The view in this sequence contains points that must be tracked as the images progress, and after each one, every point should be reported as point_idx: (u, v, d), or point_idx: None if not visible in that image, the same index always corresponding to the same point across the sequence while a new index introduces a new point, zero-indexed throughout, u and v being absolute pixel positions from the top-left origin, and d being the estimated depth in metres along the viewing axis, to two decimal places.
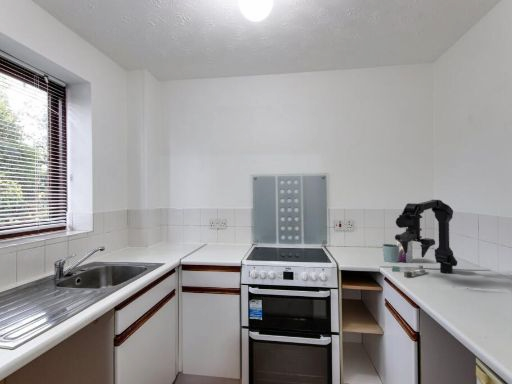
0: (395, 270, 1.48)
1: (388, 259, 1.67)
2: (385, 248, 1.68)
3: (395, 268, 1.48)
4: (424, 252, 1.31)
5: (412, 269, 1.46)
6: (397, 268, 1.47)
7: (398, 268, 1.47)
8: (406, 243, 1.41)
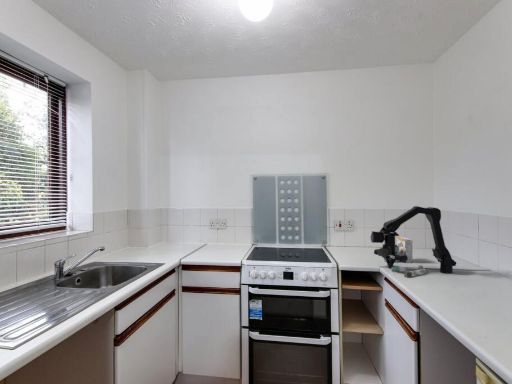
0: (395, 270, 1.48)
1: None
2: None
3: (395, 268, 1.48)
4: (391, 264, 1.50)
5: (412, 269, 1.46)
6: (397, 268, 1.47)
7: (398, 268, 1.47)
8: None
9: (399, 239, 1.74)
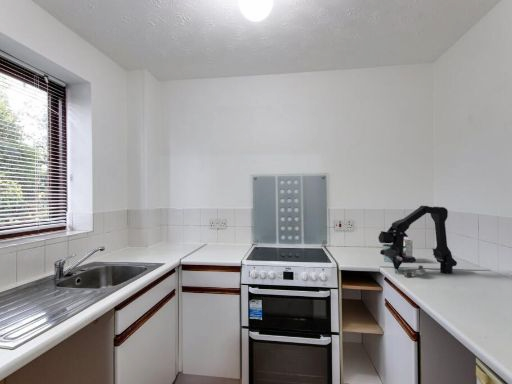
0: (399, 272, 1.43)
1: (388, 259, 1.67)
2: (385, 248, 1.68)
3: (399, 271, 1.43)
4: (397, 266, 1.45)
5: None
6: (401, 270, 1.43)
7: (402, 270, 1.44)
8: None
9: None
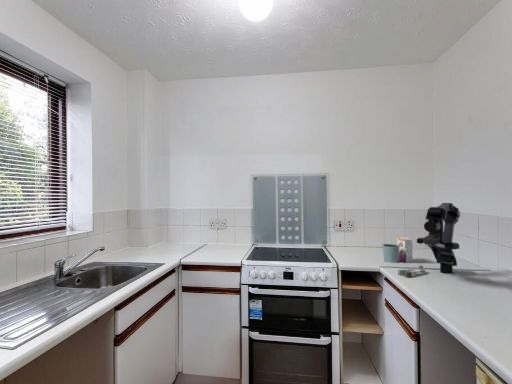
0: (402, 274, 1.41)
1: (388, 259, 1.67)
2: (385, 248, 1.68)
3: (402, 272, 1.41)
4: (439, 254, 1.35)
5: None
6: (404, 271, 1.42)
7: (405, 271, 1.42)
8: None
9: (399, 239, 1.74)
